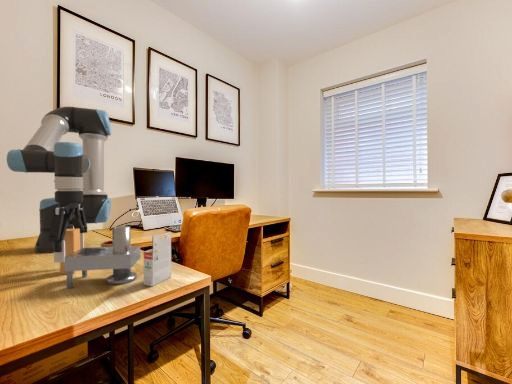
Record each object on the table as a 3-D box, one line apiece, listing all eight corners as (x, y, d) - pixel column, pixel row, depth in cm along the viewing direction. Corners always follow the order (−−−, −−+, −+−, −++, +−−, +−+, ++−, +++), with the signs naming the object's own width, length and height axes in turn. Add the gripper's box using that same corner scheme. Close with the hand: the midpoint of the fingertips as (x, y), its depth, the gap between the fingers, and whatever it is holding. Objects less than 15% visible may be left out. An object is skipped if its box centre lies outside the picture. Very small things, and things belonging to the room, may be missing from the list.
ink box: (142, 285, 73) (142, 235, 72) (162, 275, 80) (162, 230, 80) (152, 287, 72) (152, 236, 71) (171, 277, 79) (171, 231, 78)
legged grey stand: (140, 273, 83) (140, 224, 82) (130, 285, 73) (130, 230, 72) (83, 276, 80) (82, 225, 79) (65, 289, 70) (64, 231, 69)
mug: (121, 259, 97) (121, 242, 97) (100, 262, 93) (100, 244, 93) (116, 252, 107) (116, 237, 107) (97, 255, 103) (97, 239, 103)
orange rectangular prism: (67, 270, 85) (66, 228, 85) (80, 269, 86) (79, 228, 85) (60, 274, 81) (59, 231, 81) (74, 273, 82) (73, 230, 81)
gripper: (75, 189, 93) (76, 248, 94) (31, 191, 70) (32, 269, 71) (97, 189, 95) (98, 247, 95) (61, 191, 72) (62, 267, 72)
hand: (70, 256), depth 83 cm, fingers open, 11 cm apart
